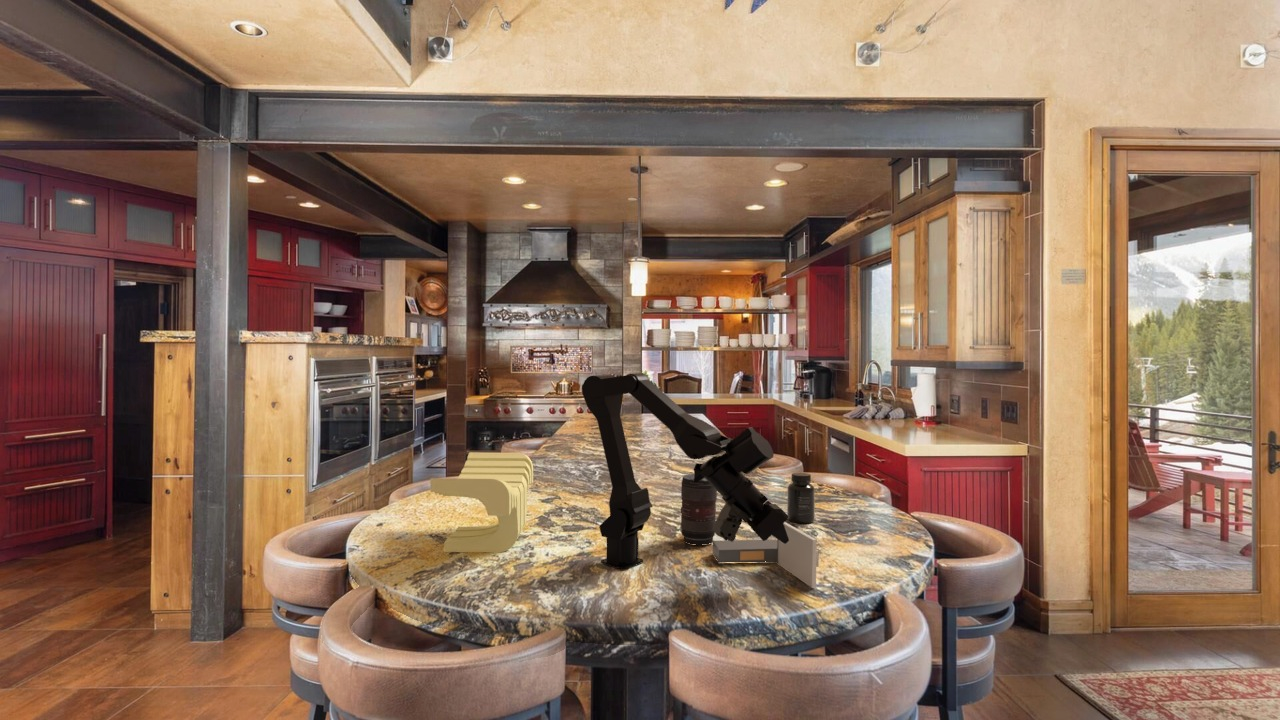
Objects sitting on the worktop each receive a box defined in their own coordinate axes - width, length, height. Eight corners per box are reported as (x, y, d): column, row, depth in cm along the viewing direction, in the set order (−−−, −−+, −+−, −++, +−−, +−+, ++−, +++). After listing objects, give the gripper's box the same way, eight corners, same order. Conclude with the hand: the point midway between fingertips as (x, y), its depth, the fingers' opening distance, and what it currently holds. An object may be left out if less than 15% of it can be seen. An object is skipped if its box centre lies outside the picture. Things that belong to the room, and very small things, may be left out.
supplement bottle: (817, 519, 164) (818, 473, 163) (809, 525, 158) (810, 478, 158) (792, 515, 167) (792, 470, 167) (783, 521, 162) (784, 474, 161)
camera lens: (714, 548, 140) (715, 481, 139) (678, 546, 141) (679, 479, 141) (717, 537, 148) (718, 474, 147) (683, 535, 149) (683, 472, 149)
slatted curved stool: (509, 566, 128) (509, 478, 127) (430, 565, 128) (430, 478, 127) (532, 523, 158) (533, 452, 157) (469, 523, 158) (469, 452, 157)
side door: (818, 588, 117) (819, 538, 117) (811, 589, 117) (812, 539, 117) (782, 563, 131) (783, 518, 130) (776, 563, 130) (776, 518, 130)
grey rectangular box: (718, 564, 130) (719, 550, 129) (712, 554, 136) (712, 540, 136) (790, 562, 131) (790, 548, 131) (781, 552, 137) (781, 539, 137)
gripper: (691, 501, 127) (743, 555, 128) (711, 529, 108) (772, 591, 110) (730, 462, 127) (781, 516, 129) (758, 483, 109) (817, 546, 110)
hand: (786, 541), depth 119 cm, fingers closed
